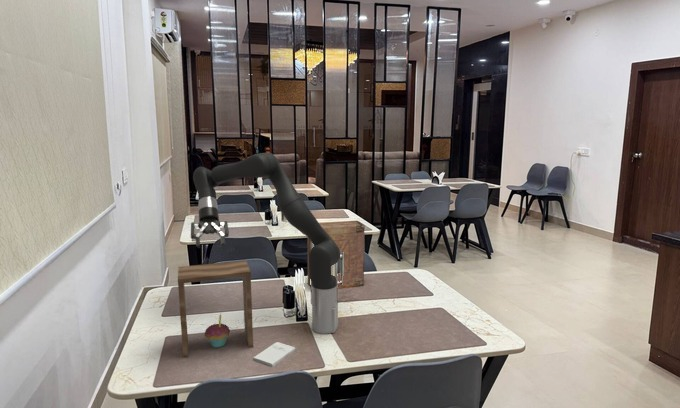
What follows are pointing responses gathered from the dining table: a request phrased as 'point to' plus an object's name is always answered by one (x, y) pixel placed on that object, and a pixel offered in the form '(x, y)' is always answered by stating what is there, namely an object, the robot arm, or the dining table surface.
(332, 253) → the robot arm
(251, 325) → the wooden arch
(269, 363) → the external hard drive
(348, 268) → the book
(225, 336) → the cupcake
